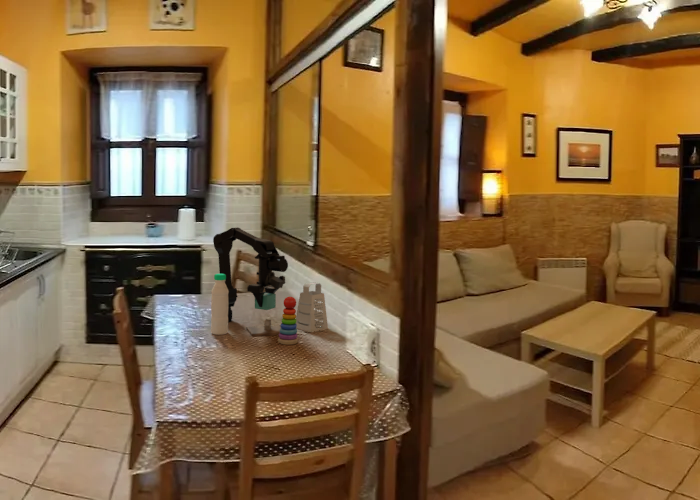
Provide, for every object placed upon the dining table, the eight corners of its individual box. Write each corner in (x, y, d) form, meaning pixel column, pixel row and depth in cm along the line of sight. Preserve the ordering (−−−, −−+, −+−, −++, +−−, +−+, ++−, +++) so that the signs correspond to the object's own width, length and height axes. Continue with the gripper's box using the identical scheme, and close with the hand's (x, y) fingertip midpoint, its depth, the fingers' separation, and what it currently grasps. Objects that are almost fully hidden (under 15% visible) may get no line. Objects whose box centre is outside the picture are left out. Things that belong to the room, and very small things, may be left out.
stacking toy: (282, 346, 244) (283, 299, 242) (275, 341, 251) (275, 295, 249) (300, 344, 248) (302, 297, 246) (293, 339, 255) (294, 294, 253)
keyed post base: (251, 336, 257) (251, 324, 257) (246, 329, 268) (246, 317, 268) (289, 334, 263) (289, 322, 262) (282, 327, 274) (282, 316, 273)
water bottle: (231, 332, 262) (232, 273, 259) (221, 336, 256) (221, 276, 253) (217, 330, 265) (218, 272, 262) (207, 333, 259) (207, 274, 256)
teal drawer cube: (267, 310, 264) (267, 295, 263) (254, 308, 267) (254, 294, 266) (275, 307, 270) (275, 293, 269) (263, 306, 272) (263, 291, 272)
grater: (328, 328, 275) (329, 283, 272) (310, 332, 267) (311, 286, 265) (311, 324, 282) (312, 280, 279) (294, 327, 274) (295, 283, 272)
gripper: (268, 274, 254) (268, 311, 256) (292, 268, 271) (292, 304, 273) (246, 271, 259) (246, 308, 261) (271, 266, 276) (271, 301, 278)
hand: (265, 305), depth 268 cm, fingers closed on teal drawer cube, 6 cm apart
